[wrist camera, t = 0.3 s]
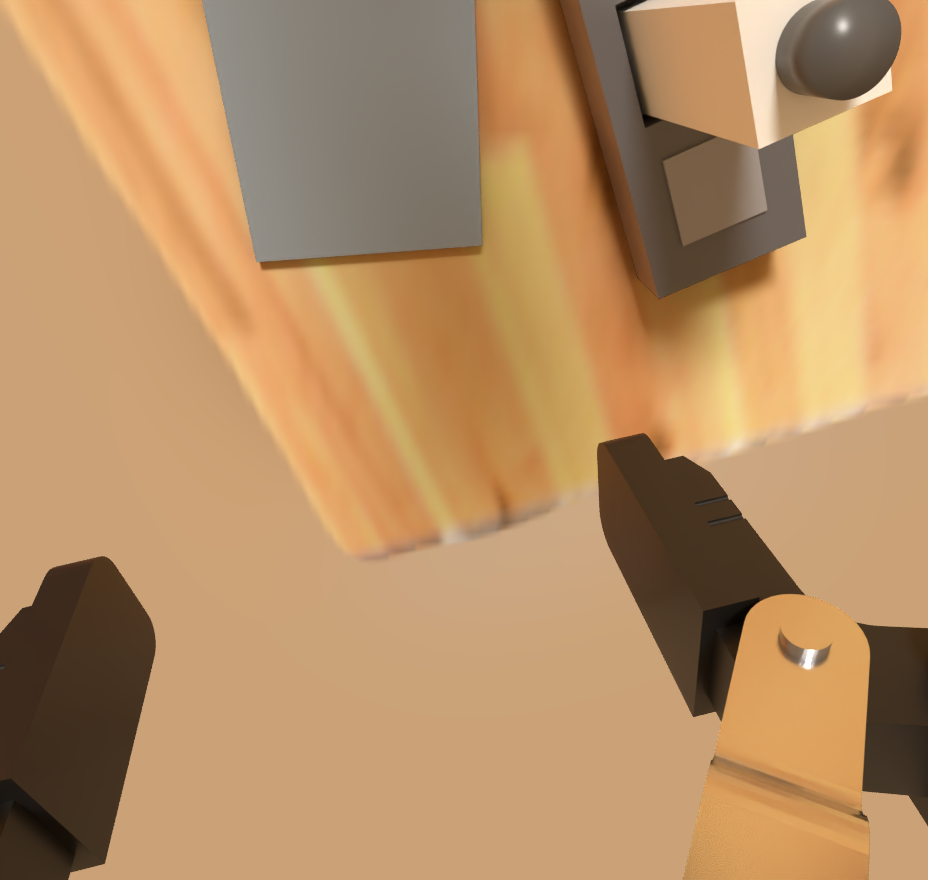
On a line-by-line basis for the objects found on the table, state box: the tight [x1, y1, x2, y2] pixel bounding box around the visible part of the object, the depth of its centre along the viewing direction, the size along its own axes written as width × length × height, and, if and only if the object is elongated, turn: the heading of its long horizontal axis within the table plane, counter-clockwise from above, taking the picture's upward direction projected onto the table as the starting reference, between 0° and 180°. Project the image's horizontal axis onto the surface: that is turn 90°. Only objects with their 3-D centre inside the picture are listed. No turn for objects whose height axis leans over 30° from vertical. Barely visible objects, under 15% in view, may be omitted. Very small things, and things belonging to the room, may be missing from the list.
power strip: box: [560, 0, 806, 299], centre depth 31 cm, size 22×8×4 cm, turn 23°
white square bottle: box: [616, 0, 901, 149], centre depth 25 cm, size 4×4×15 cm
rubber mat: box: [202, 0, 482, 262], centre depth 33 cm, size 12×12×1 cm
